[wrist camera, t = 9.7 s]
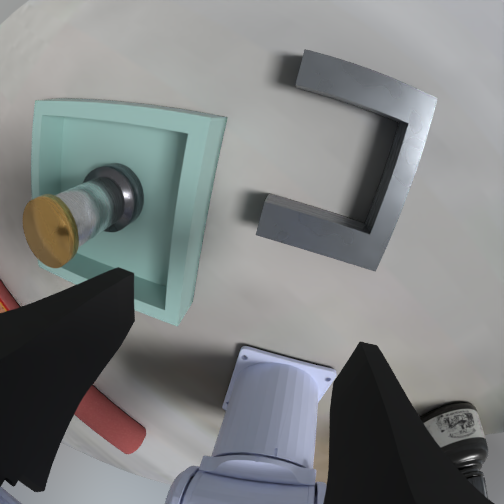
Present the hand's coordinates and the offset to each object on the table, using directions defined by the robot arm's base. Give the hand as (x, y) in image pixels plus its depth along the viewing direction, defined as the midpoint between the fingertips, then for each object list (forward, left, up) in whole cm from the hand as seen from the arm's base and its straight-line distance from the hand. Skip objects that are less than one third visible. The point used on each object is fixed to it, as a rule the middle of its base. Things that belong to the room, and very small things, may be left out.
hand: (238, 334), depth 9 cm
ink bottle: (-16, -24, -11) cm, 31 cm away
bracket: (+5, -2, -10) cm, 12 cm away
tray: (-1, +11, -10) cm, 15 cm away
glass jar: (-1, +11, -10) cm, 15 cm away
